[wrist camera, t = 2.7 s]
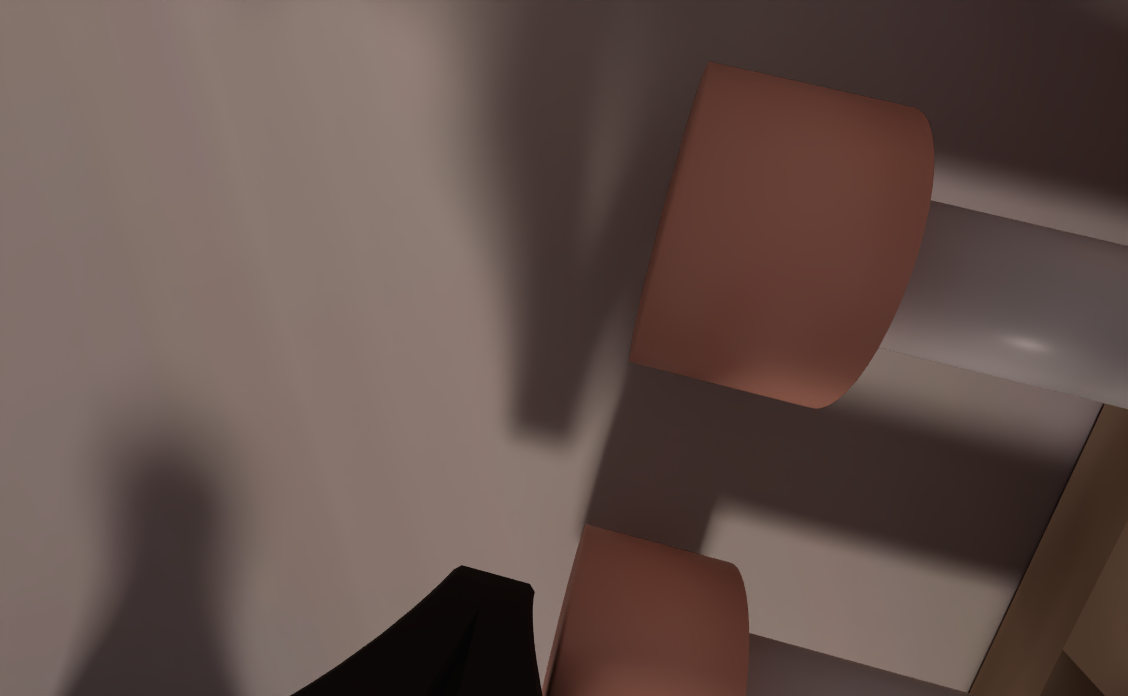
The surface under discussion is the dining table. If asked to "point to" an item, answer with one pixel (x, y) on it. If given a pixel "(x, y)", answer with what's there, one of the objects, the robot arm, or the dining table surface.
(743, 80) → the knob
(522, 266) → the dining table surface
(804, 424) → the dining table surface
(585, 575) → the knob
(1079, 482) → the mount
